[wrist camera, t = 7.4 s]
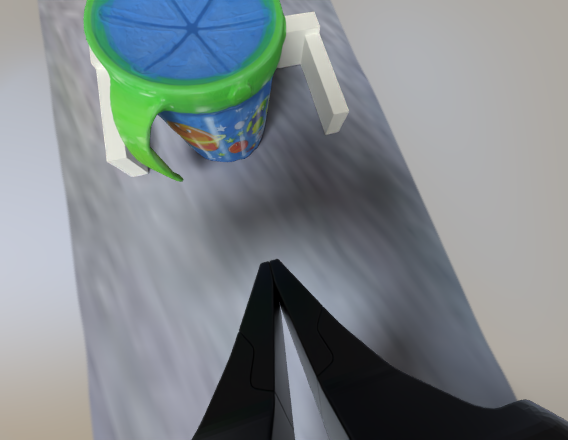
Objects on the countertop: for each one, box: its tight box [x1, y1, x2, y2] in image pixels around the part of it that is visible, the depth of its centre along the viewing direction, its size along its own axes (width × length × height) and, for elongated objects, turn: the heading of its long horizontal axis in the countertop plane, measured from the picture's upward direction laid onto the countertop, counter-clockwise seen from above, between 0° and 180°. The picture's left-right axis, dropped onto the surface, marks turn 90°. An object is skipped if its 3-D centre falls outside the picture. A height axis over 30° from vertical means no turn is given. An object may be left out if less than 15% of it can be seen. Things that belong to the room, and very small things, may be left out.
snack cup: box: [84, 0, 286, 182], centre depth 16 cm, size 16×10×10 cm
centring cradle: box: [89, 12, 349, 177], centre depth 18 cm, size 12×21×7 cm, turn 105°
